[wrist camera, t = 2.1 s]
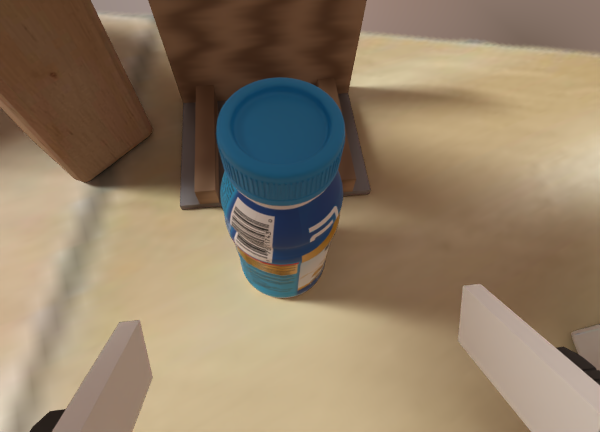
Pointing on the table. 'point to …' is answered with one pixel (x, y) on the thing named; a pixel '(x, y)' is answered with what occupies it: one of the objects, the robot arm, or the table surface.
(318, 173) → the beverage bottle
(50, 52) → the wooden block
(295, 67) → the backstop holder
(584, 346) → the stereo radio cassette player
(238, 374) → the table surface
